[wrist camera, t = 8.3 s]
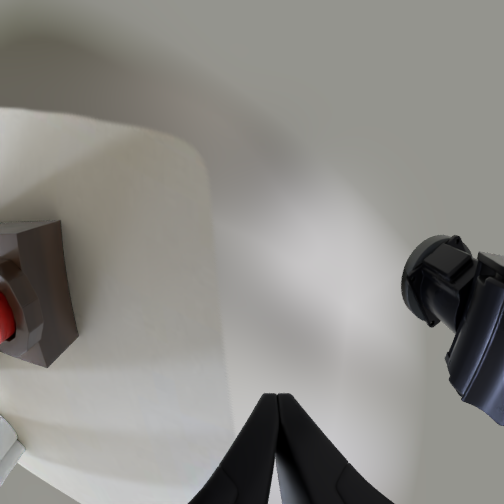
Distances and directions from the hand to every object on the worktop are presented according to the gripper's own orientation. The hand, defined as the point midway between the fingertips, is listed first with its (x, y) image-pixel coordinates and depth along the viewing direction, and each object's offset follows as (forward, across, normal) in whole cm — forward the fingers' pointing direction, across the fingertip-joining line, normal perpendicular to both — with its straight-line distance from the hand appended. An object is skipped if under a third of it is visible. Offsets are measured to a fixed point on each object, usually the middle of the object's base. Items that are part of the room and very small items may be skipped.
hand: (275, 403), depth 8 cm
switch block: (+12, +22, +1) cm, 25 cm away
